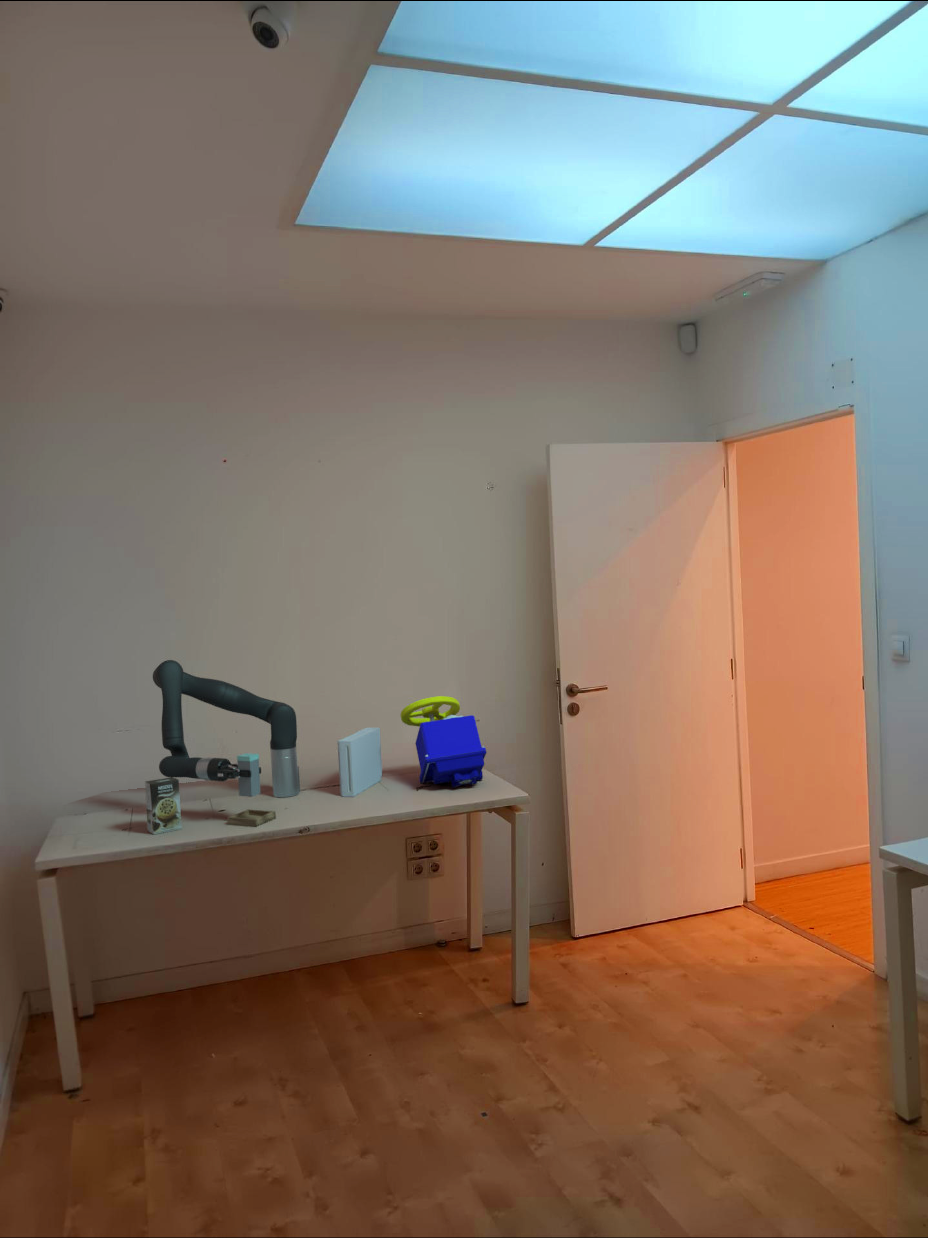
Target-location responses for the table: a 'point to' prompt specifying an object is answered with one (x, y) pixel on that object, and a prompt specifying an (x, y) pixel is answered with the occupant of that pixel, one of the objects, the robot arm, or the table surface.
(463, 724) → the valve actuator
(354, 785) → the game console
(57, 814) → the table surface
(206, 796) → the table surface
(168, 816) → the coffee box
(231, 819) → the tray
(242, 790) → the teal box
